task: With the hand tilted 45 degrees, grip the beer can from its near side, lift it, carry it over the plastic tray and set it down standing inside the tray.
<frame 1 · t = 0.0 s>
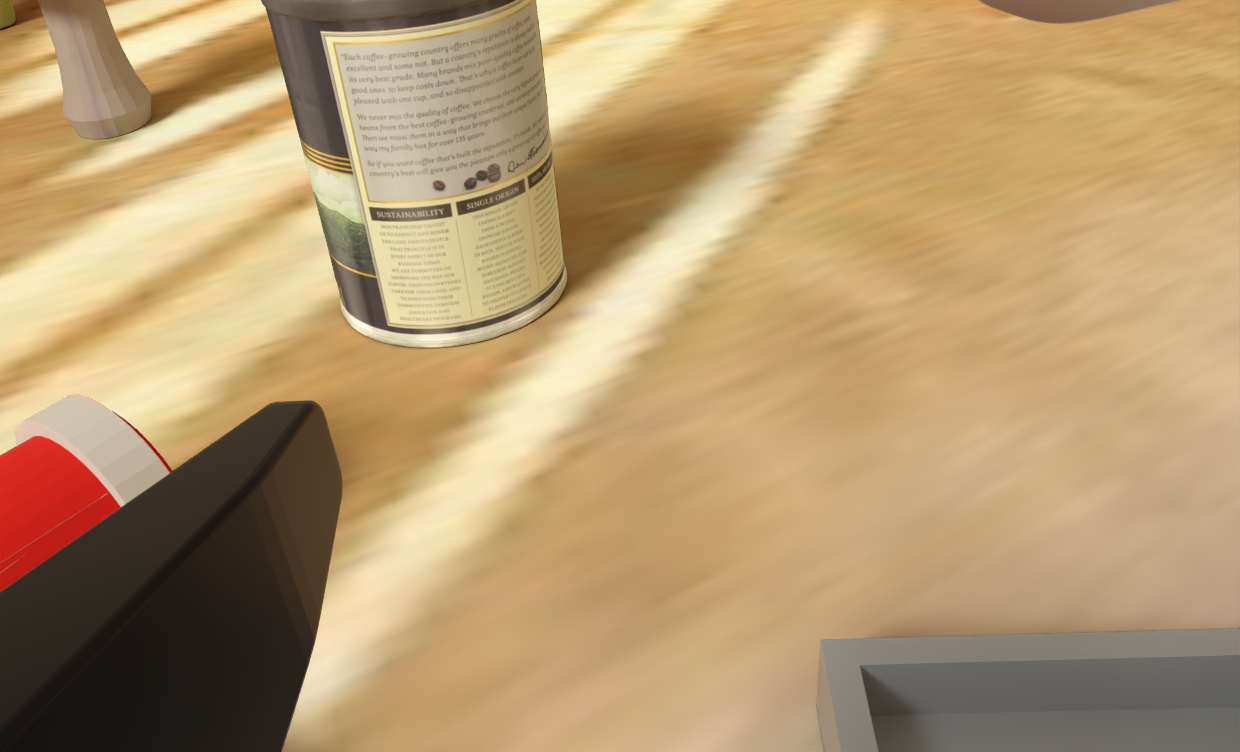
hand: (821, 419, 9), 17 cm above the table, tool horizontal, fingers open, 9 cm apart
decorative mushroom: (115, 125, 68), on the table
coffee can: (456, 292, 46), on the table
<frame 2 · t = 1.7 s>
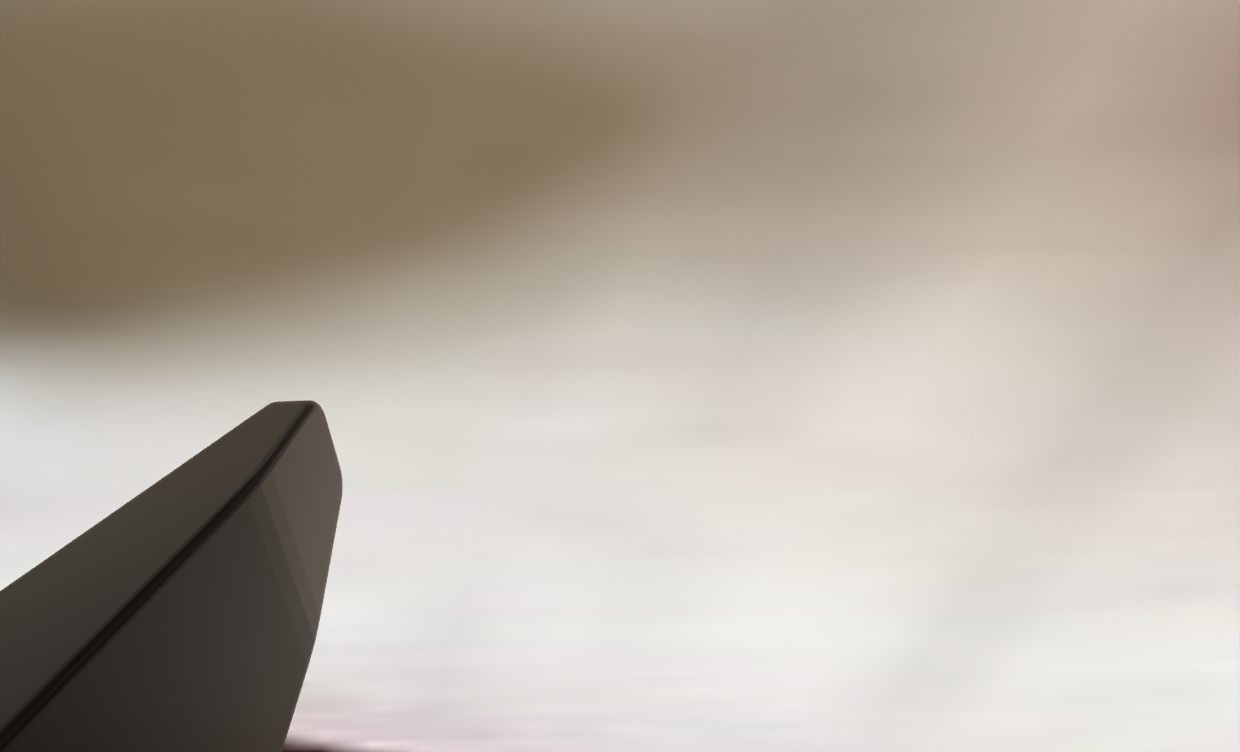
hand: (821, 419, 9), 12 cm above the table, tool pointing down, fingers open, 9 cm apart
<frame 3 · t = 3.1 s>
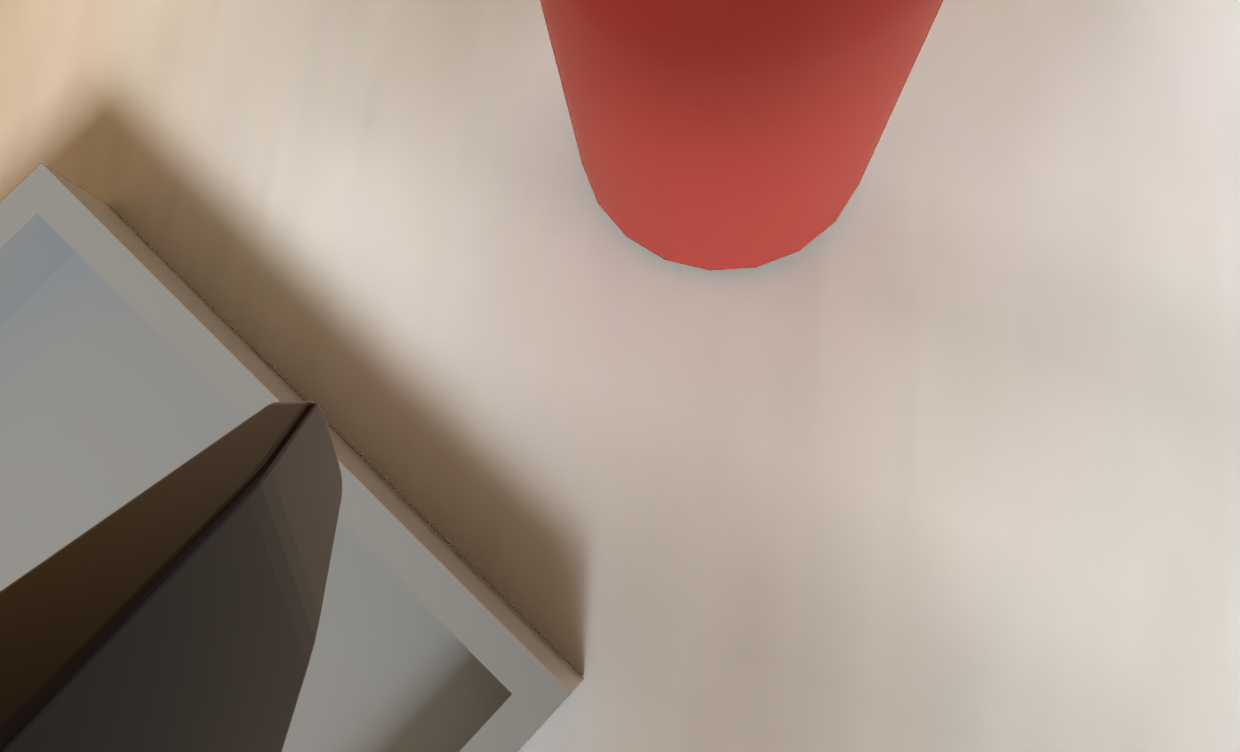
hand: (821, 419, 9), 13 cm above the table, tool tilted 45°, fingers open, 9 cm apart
tray: (139, 623, 23), on the table
beer can: (721, 146, 24), on the table
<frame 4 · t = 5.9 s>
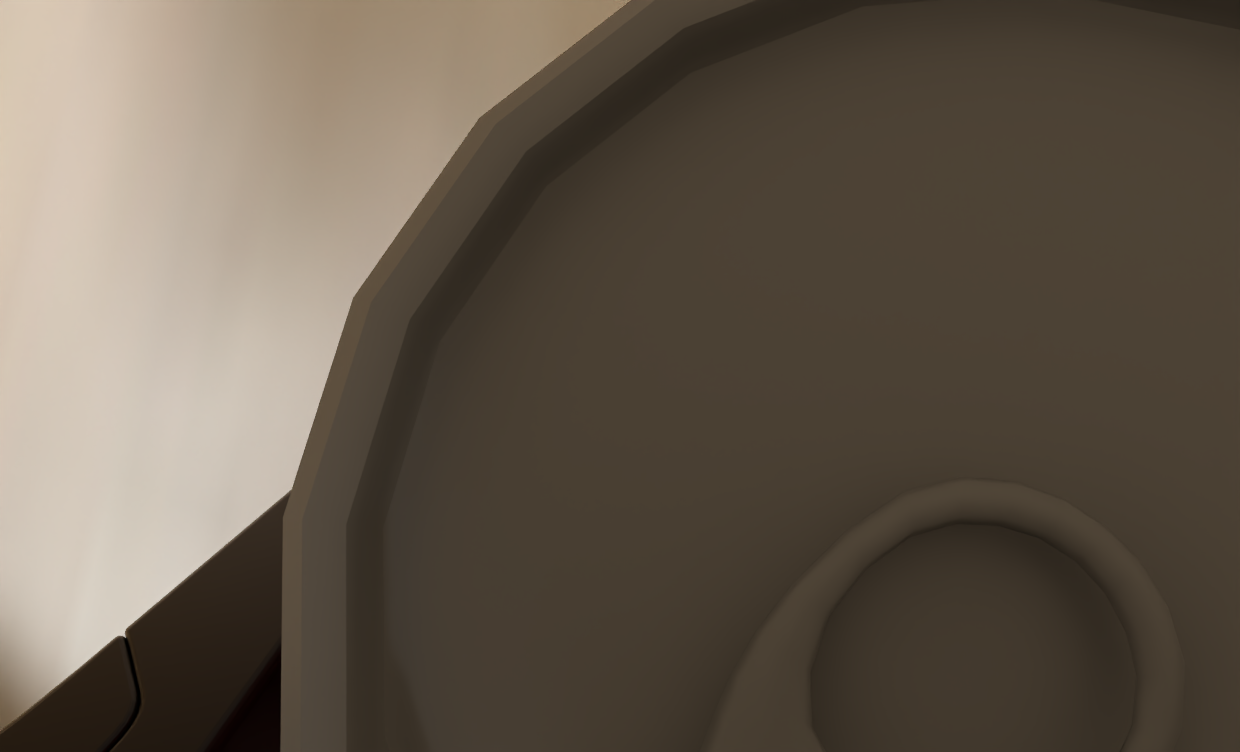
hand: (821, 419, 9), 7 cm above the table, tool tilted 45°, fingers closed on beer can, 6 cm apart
beer can: (768, 573, 15), on the table, touching gripper
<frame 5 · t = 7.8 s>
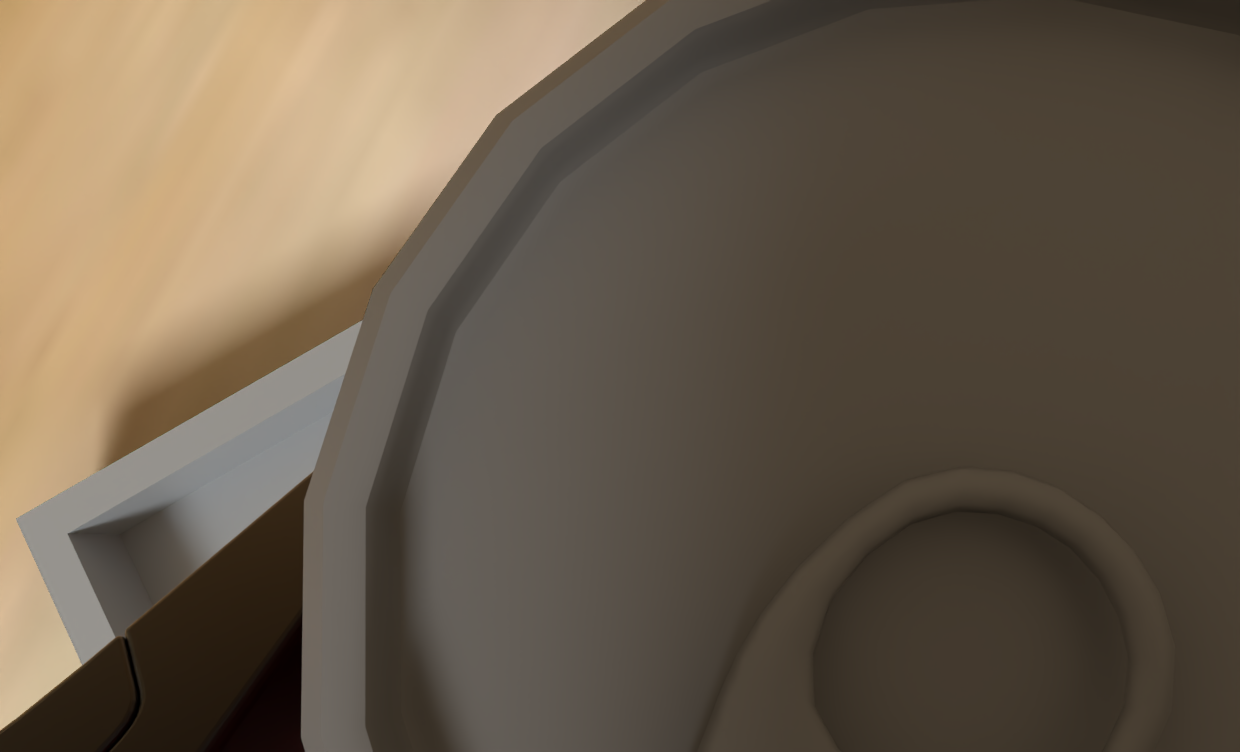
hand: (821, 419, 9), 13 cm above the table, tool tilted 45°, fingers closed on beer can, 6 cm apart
tray: (490, 707, 22), on the table
beer can: (769, 567, 16), point 6 cm above the table, touching gripper
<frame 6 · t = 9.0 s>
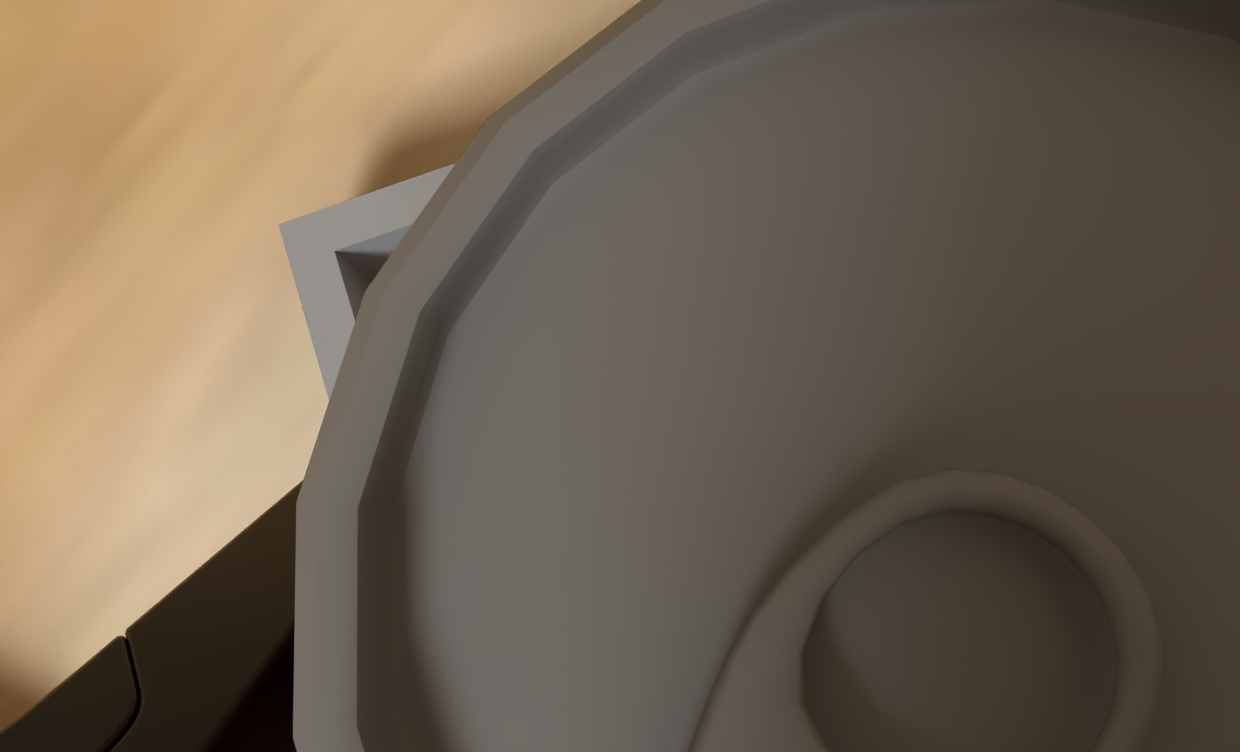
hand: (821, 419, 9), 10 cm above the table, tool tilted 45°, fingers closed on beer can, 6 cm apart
tray: (753, 553, 19), on the table
beer can: (767, 568, 16), point 3 cm above the table, touching gripper
when the fingers open (8 cm above the table, at t = 9.9 s): beer can stays where it is, resting on tray.
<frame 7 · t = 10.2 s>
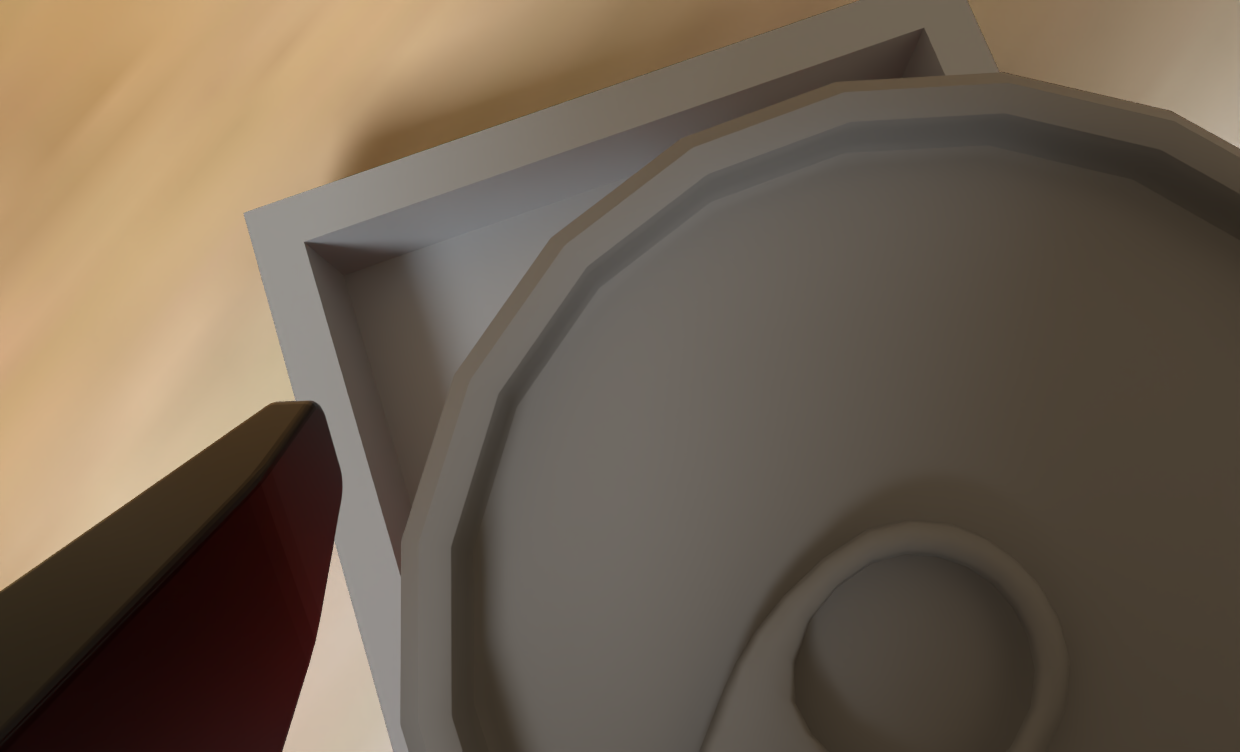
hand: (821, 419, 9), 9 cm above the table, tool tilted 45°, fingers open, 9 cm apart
tray: (760, 571, 17), on the table
beer can: (761, 581, 17), resting on tray
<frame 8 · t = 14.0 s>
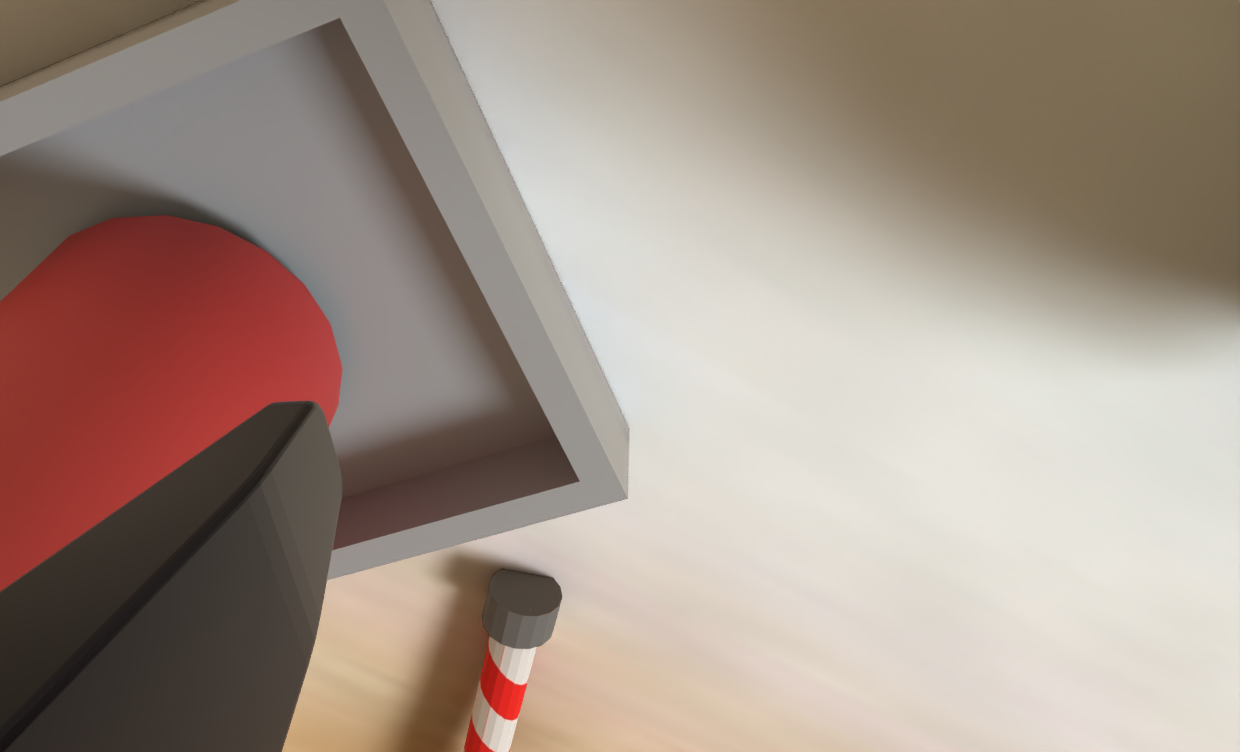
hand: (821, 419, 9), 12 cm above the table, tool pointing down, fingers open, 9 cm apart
tray: (202, 324, 23), on the table
beer can: (202, 334, 22), resting on tray
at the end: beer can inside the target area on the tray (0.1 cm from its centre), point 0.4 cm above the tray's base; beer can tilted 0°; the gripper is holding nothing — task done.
